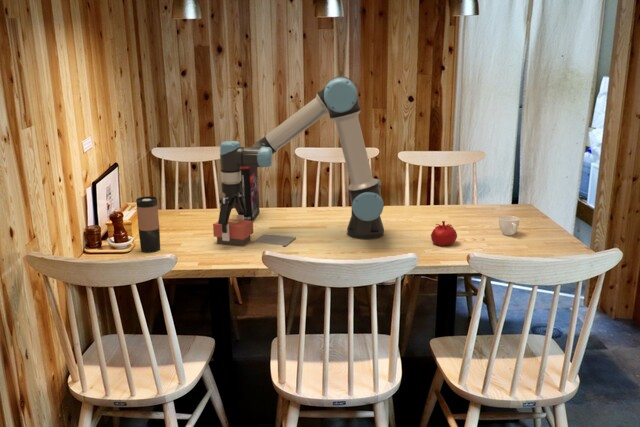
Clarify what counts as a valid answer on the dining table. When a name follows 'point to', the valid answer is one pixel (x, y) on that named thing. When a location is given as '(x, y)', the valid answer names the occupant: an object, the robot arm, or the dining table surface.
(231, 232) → the lid
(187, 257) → the dining table surface
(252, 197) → the graphics card box
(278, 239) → the mat
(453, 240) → the pomegranate
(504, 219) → the cup
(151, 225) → the travel mug
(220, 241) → the lacquer box
